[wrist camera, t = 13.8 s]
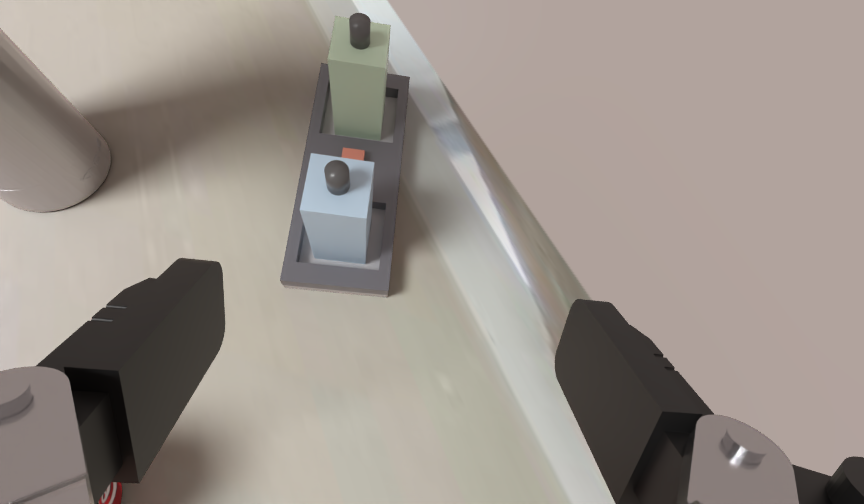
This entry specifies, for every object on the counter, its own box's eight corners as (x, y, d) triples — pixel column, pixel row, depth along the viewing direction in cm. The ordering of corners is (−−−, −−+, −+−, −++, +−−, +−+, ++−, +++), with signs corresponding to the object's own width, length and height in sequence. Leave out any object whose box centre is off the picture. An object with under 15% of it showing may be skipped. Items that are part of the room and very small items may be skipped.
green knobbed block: (334, 134, 43) (325, 38, 32) (340, 97, 45) (334, -6, 34) (380, 140, 44) (386, 48, 33) (384, 104, 46) (392, 4, 34)
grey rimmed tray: (284, 287, 38) (278, 277, 36) (323, 78, 46) (320, 57, 44) (386, 297, 39) (389, 288, 37) (407, 91, 48) (410, 71, 45)
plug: (314, 258, 39) (295, 196, 28) (322, 212, 40) (307, 136, 29) (365, 264, 39) (366, 205, 28) (371, 218, 41) (375, 146, 30)
